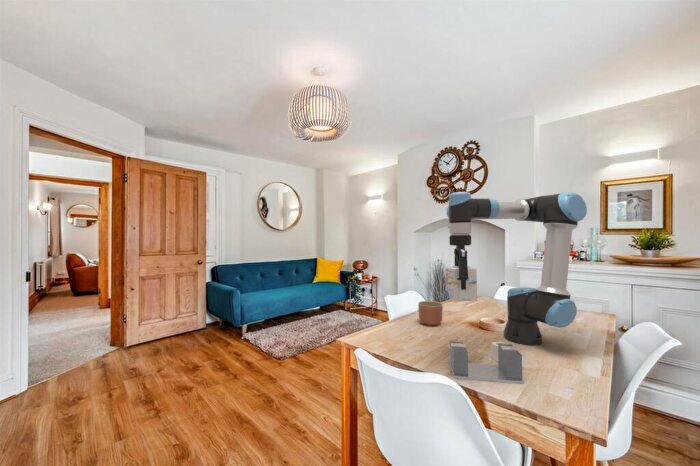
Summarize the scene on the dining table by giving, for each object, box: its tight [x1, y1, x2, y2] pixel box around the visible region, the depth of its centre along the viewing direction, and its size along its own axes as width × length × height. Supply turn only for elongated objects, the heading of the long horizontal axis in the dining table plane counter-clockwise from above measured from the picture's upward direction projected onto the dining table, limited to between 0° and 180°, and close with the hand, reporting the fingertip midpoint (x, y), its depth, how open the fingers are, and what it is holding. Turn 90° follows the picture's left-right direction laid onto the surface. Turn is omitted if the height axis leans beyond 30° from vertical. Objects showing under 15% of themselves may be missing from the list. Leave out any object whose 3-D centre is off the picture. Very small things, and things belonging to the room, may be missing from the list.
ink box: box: [445, 265, 478, 302], centre depth 107 cm, size 9×8×12 cm
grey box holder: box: [449, 340, 524, 385], centre depth 101 cm, size 21×11×9 cm, turn 79°
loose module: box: [490, 341, 507, 363], centre depth 110 cm, size 5×7×6 cm
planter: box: [417, 300, 444, 327], centre depth 155 cm, size 12×12×11 cm
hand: (461, 295), depth 107 cm, fingers closed on ink box, 10 cm apart
